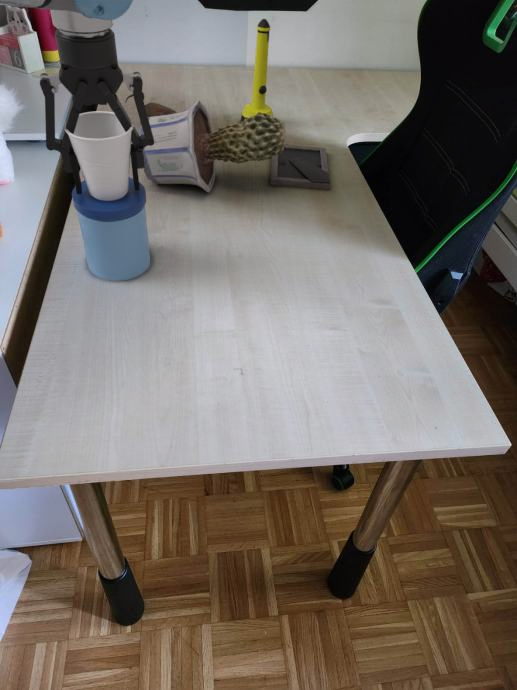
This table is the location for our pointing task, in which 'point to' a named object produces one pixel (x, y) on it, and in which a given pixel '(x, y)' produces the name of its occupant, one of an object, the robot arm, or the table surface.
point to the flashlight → (259, 74)
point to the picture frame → (300, 168)
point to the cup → (102, 153)
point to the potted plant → (206, 145)
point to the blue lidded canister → (114, 233)
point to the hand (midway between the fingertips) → (108, 187)
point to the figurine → (155, 108)
